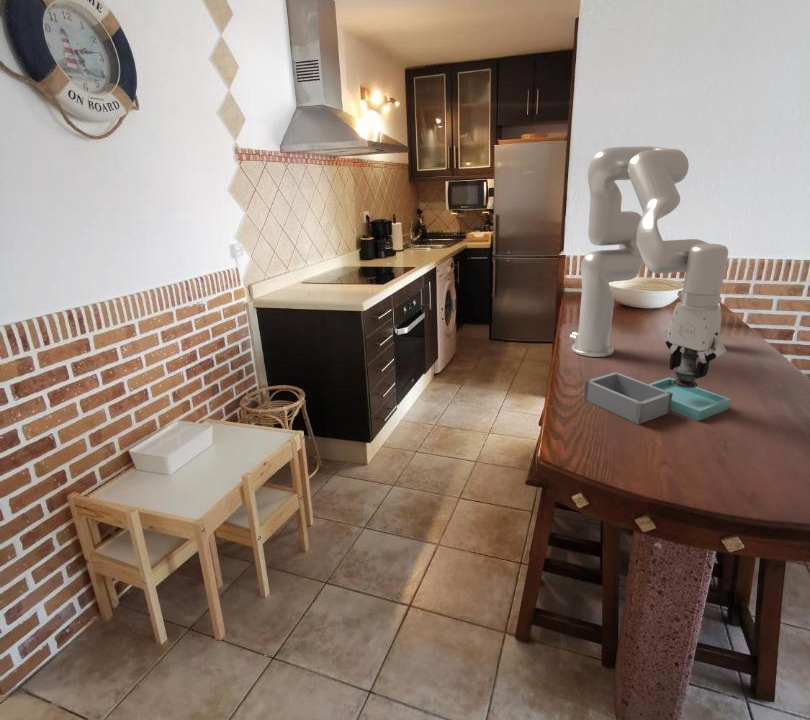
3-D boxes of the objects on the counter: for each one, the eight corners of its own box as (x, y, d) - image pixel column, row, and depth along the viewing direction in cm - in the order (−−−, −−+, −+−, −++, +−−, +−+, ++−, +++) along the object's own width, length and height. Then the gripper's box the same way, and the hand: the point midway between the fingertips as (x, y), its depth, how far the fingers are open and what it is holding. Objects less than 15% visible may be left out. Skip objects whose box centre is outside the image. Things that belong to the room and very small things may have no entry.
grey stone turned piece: (666, 379, 123) (673, 333, 119) (689, 378, 124) (697, 332, 120) (680, 389, 118) (689, 341, 114) (704, 387, 118) (713, 339, 114)
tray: (637, 396, 127) (638, 387, 126) (667, 385, 132) (669, 377, 131) (697, 421, 113) (699, 411, 113) (729, 408, 119) (731, 399, 118)
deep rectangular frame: (583, 399, 126) (585, 381, 124) (613, 389, 131) (616, 371, 129) (638, 424, 113) (641, 404, 111) (669, 412, 118) (672, 393, 116)
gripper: (655, 294, 119) (645, 365, 125) (728, 309, 105) (713, 388, 111) (675, 290, 122) (664, 359, 129) (749, 304, 108) (732, 381, 114)
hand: (687, 371), depth 120 cm, fingers closed on grey stone turned piece, 5 cm apart
